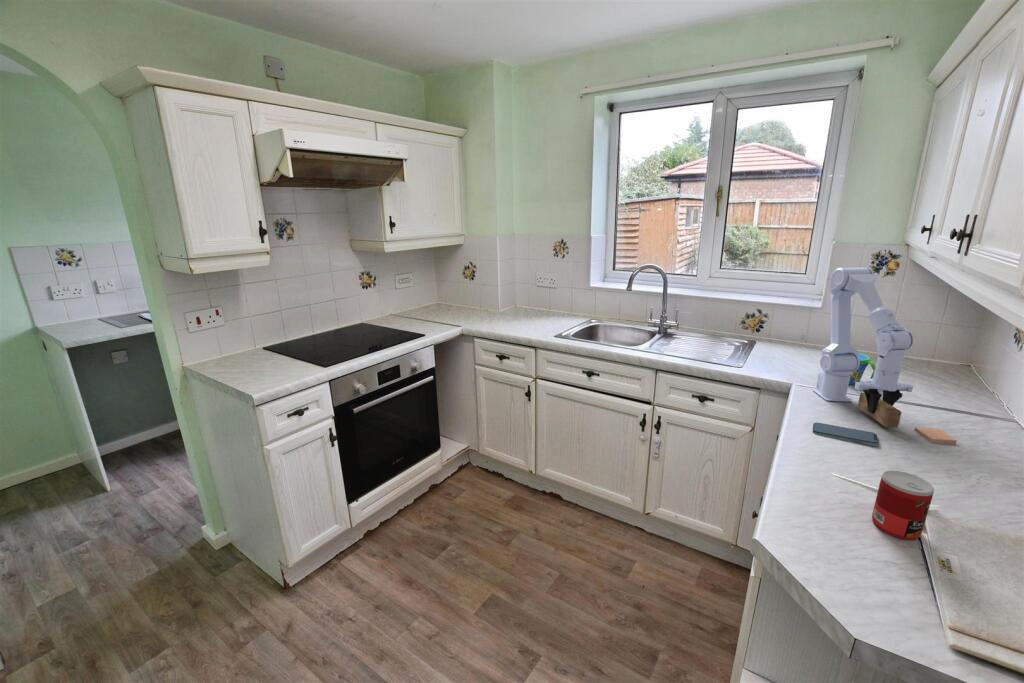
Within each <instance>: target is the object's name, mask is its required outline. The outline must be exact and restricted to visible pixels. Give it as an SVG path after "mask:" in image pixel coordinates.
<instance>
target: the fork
mask: <svg viewBox="0 0 1024 683" xmlns="http://www.w3.org/2000/svg"><path fill="white" fill-rule="evenodd" d="M832 474H833V475H832ZM830 475H832V476H834V475H835V477H837V476H838V478H839V477H840V479H842V478H843V479H842V480H845V481H847V480H848V481H847V482H849V483H852V482H853V484H855V483H856V484H855V485H857V484H858V486H860V485H861V486H860V487H863V488H865V487H866V489H868V488H869V489H868V490H870V489H872V490H871V491H873V490H874V492H876V491H877V492H876V493H878V489H879V487H875V486H873V485H871V484H866V483H863V482H861V481H857V480H855V479H852V478H848V477H845V476H842V475H840V474H837V473H832V472H831V473H830ZM940 508H941V505H937V504H935V505H934V504H930V507H929V511H928V512H936V511H939V510H940Z"/></svg>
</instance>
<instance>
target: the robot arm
mask: <svg viewBox="0 0 1024 683" xmlns="http://www.w3.org/2000/svg"><path fill="white" fill-rule="evenodd" d="M829 276H830V279H829V280H830V286H829V287H830V344H829V345H828V346H826V347H824V348H823V349H822V351H821V357H820V358H819V359H820V360H819V366H820V368H821V370H820V371H819V372H818V375H817V380H816V385H815V388H812V391H813V392H814V393H815V394H817V395H818V396H820V397H821V398H822V399H824V400H825V401H826V402H848V403H849V402H852V399H850V398H849V397H848V396H847V394H848V390H849V389H848V388H849V385H850V384H849V380H850V375H852V374H853V372H854V371H856V370H857V369H858V368H859V365H860V361H859V358H858V354H857V353H858V349H856V348H855V347H854V346H853V345H852V344H851V318H852V317H851V312H852V311H851V309H852V308H851V306H852V304H851V298H852V297H853V296H854V295H855V294H858V295H859V297H860V298H861V300H862V302H863V303H864V304H865V306H866V307H867V308H868V310H869V314H868V319H869V321H870V323H871V325H872V327H873V329H874V330H875V333H876V334H877V337H875V343H876V346H877V349H876V352H877V359H876V364H875V366H876V367H875V371H874V376H873V378H872V379H871V380H866V381H860V382H856V383H855V384H854V389H855V390H857V391H863V393H865V396H866V399H867V405H868V411H869V412H870V413H875V411H876V407H877V404H878V401H879V399H882V400H883V401H885V402H886V403H888V404H890V405H891V406H893V407H894V405H895V404H896V402H897V401H899V400H900V399H901V398H902V397H903V395H904V394H903V393H901V392H908V393H912V392H913V389H914V386H913V385H912V384H911V383H903V382H898V381H899V378H900V373H901V370H902V365H903V361H904V357H905V353H906V350H909V349H911V348H912V346H913V344H914V336H913V334H912V332H911V331H910V330H907V329H905V327H903V326H901V324H900V323H899V321H898V319H897V317H896V315H895V313H894V311H893V310H892V309H890V308H888V307H885V306H884V304H883V302H882V299H881V297H880V295H879V292H878V290H877V288H876V285H875V282H876V279H877V277H876V275H875V274H874V271H873V269H872V268H870V267H869V266H864V267H838V268H836V269H835V270H834V271H833V272H832V273H831V274H830V275H829ZM836 353H845V354H836ZM879 391H882V394H880V392H879Z"/></svg>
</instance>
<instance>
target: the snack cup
mask: <svg viewBox="0 0 1024 683" xmlns="http://www.w3.org/2000/svg"><path fill="white" fill-rule="evenodd" d="M836 354H845V353H836ZM857 354H858V358H859V361H860V365H859V368H858V369H857V370H856V371H854V372H853V374H852V375H850V380H849V383H850V384H849V385H855V383H856V382H861V380H862V377H863V375H864V372H865V370H866V369H867V367H868V365H870V366H871V369H872V370H873V371H872V373H871V377H870V379H871V380H873V376H874V371H875V367H876V364H875V363H874V362H873V361H872V360H871V357H869V356H868V355H866V354H863V353H859V352H857Z"/></svg>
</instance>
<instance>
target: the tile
mask: <svg viewBox="0 0 1024 683" xmlns="http://www.w3.org/2000/svg"><path fill="white" fill-rule="evenodd" d="M913 431H914V432H915V433H917V434H918V435H919V436H920V437H922V438H923V439H925V440H926V441H927V442H929V443H931V444H932V443H933V444H946V445H948V444H949V445H957V442H958V441H957V439H955V438H954V437H952V436H951V435H949V434H947V433H946V432H944V431H943V430H942V429H940V428H935V427H933V428H929V427H917V426H916V427H914V429H913Z"/></svg>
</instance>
